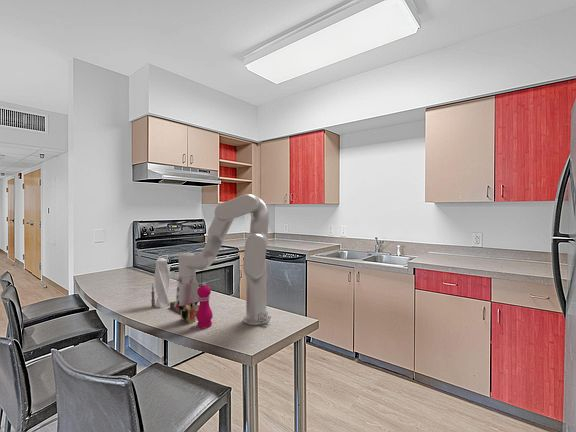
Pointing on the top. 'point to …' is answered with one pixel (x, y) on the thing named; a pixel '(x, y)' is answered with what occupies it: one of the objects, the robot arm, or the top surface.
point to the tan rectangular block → (189, 314)
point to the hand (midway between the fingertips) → (188, 317)
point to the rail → (180, 305)
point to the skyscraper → (161, 283)
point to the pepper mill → (204, 307)
